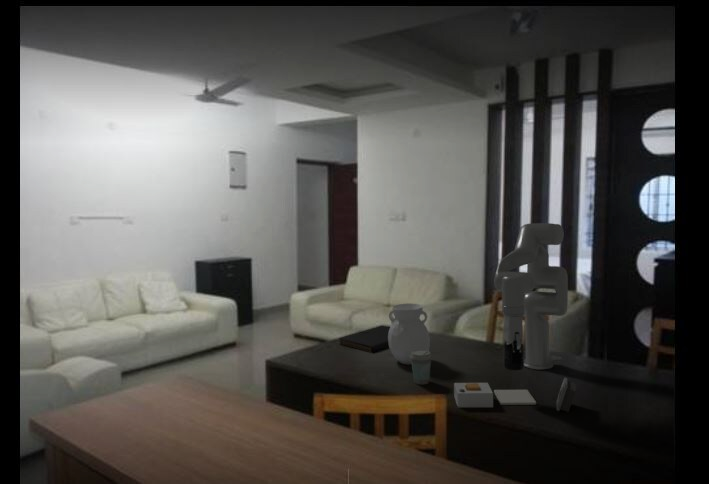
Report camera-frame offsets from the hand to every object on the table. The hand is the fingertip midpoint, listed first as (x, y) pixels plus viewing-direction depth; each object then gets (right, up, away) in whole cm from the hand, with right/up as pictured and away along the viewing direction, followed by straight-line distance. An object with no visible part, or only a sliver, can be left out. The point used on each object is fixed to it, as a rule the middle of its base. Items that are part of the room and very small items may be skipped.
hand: (513, 359), depth 180 cm
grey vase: (-32, -12, +47) cm, 58 cm away
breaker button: (-15, -13, -1) cm, 20 cm away
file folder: (-44, -10, +82) cm, 93 cm away
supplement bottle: (0, -3, 0) cm, 3 cm away
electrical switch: (+15, -15, -8) cm, 22 cm away
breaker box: (-15, -15, -1) cm, 21 cm away
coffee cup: (-30, -14, +21) cm, 39 cm away
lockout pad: (+1, -14, +1) cm, 14 cm away
